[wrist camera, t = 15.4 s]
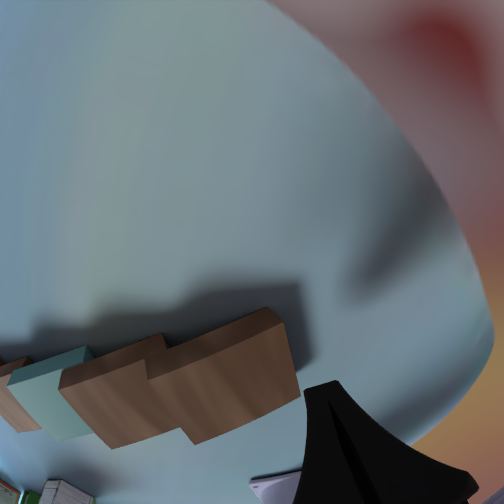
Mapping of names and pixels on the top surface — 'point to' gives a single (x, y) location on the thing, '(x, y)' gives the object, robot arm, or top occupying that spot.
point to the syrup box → (63, 494)
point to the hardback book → (30, 498)
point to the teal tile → (50, 394)
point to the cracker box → (8, 494)
